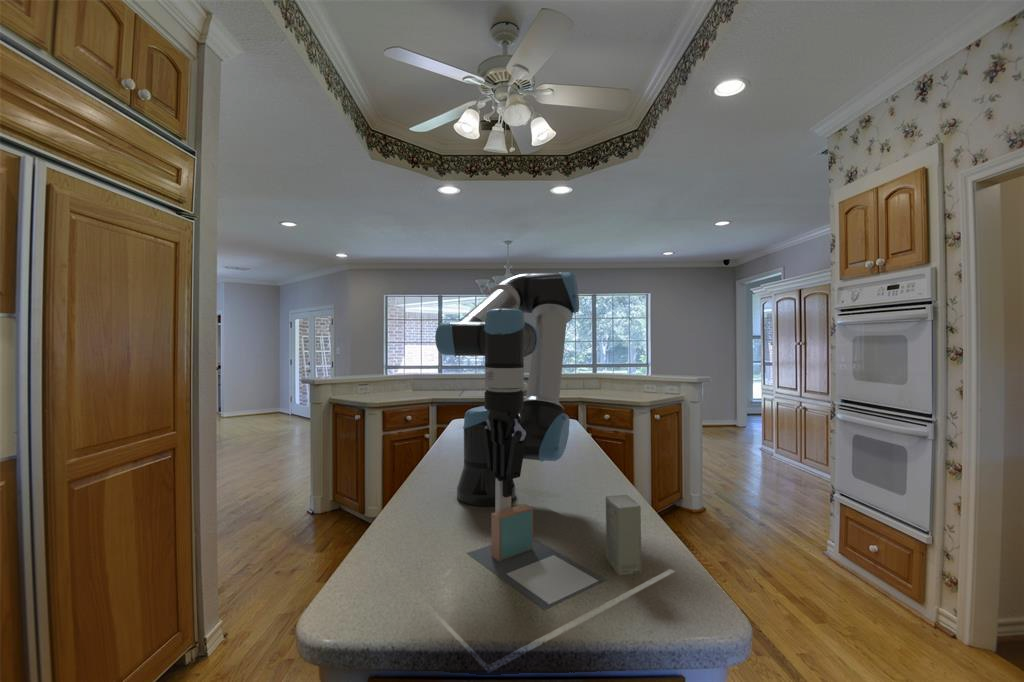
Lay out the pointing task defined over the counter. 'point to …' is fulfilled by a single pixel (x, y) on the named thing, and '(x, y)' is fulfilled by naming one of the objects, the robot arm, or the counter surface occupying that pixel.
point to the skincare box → (623, 534)
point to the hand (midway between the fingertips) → (503, 511)
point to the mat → (540, 574)
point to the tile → (511, 532)
